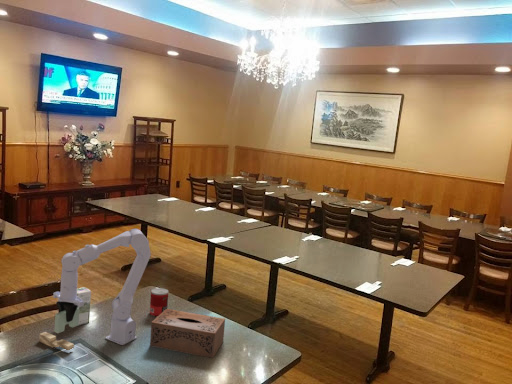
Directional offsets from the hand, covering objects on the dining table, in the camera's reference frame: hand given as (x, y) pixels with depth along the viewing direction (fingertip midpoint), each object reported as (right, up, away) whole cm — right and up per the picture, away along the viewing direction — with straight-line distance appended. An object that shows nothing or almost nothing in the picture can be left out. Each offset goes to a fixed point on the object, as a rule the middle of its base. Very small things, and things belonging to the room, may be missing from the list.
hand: (67, 320), depth 159 cm
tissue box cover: (+44, -13, +10) cm, 47 cm away
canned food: (+26, -8, +36) cm, 45 cm away
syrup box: (-4, -7, +20) cm, 22 cm away
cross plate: (0, -3, 0) cm, 3 cm away
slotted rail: (-4, -10, -1) cm, 10 cm away
